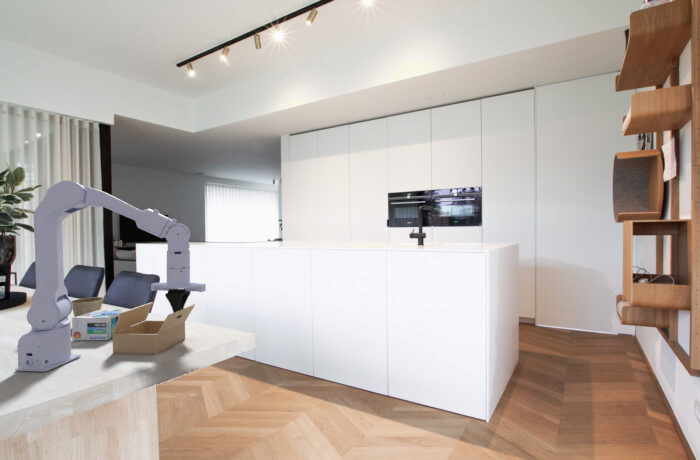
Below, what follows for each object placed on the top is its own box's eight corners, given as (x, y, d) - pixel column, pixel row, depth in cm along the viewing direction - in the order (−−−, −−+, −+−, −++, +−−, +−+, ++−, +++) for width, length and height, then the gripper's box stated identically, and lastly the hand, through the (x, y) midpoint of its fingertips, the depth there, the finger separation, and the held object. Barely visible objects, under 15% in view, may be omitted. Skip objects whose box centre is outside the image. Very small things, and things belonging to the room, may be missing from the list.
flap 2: (156, 333, 91) (157, 334, 91) (168, 314, 90) (169, 315, 90) (184, 320, 103) (185, 321, 103) (194, 304, 103) (195, 304, 103)
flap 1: (121, 312, 92) (120, 312, 92) (113, 333, 92) (112, 332, 92) (153, 302, 104) (152, 302, 104) (145, 320, 104) (144, 319, 104)
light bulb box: (131, 309, 113) (107, 317, 102) (131, 330, 113) (107, 340, 102) (98, 309, 113) (70, 317, 102) (98, 330, 113) (70, 341, 102)
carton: (156, 354, 91) (155, 334, 91) (112, 353, 92) (112, 333, 92) (185, 338, 104) (184, 320, 103) (146, 337, 105) (146, 320, 105)
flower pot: (62, 328, 116) (61, 302, 115) (91, 321, 125) (90, 296, 124) (83, 330, 113) (83, 303, 113) (111, 322, 122) (110, 297, 122)
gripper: (211, 266, 100) (211, 314, 100) (162, 265, 101) (162, 313, 102) (197, 269, 93) (197, 321, 93) (145, 268, 94) (146, 319, 95)
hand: (178, 317), depth 97 cm, fingers closed, pressing on flap 2
